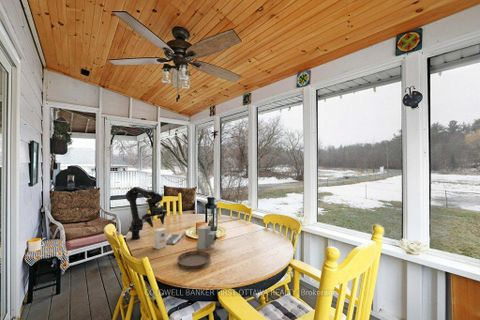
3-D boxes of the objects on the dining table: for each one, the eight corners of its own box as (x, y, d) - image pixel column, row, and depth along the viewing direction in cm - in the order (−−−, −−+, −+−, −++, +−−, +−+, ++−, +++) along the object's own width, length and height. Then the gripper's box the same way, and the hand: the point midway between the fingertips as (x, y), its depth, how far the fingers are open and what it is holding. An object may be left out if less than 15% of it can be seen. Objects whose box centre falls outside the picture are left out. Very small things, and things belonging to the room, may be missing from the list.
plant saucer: (212, 268, 129) (213, 262, 129) (177, 272, 123) (177, 266, 123) (208, 254, 149) (208, 249, 149) (177, 257, 143) (177, 252, 143)
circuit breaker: (215, 250, 154) (215, 229, 155) (196, 248, 157) (197, 228, 158) (218, 246, 162) (218, 226, 162) (200, 245, 165) (200, 225, 165)
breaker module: (153, 247, 159) (153, 229, 159) (160, 244, 164) (161, 227, 164) (159, 249, 155) (159, 231, 155) (166, 246, 160) (167, 229, 160)
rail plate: (159, 244, 165) (159, 241, 165) (170, 235, 185) (170, 232, 185) (174, 244, 164) (174, 241, 164) (183, 236, 184) (183, 233, 184)
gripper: (147, 204, 154) (153, 225, 150) (168, 200, 170) (174, 219, 166) (139, 209, 159) (144, 229, 156) (160, 205, 175) (165, 224, 171)
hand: (157, 225), depth 162 cm, fingers open, 9 cm apart
